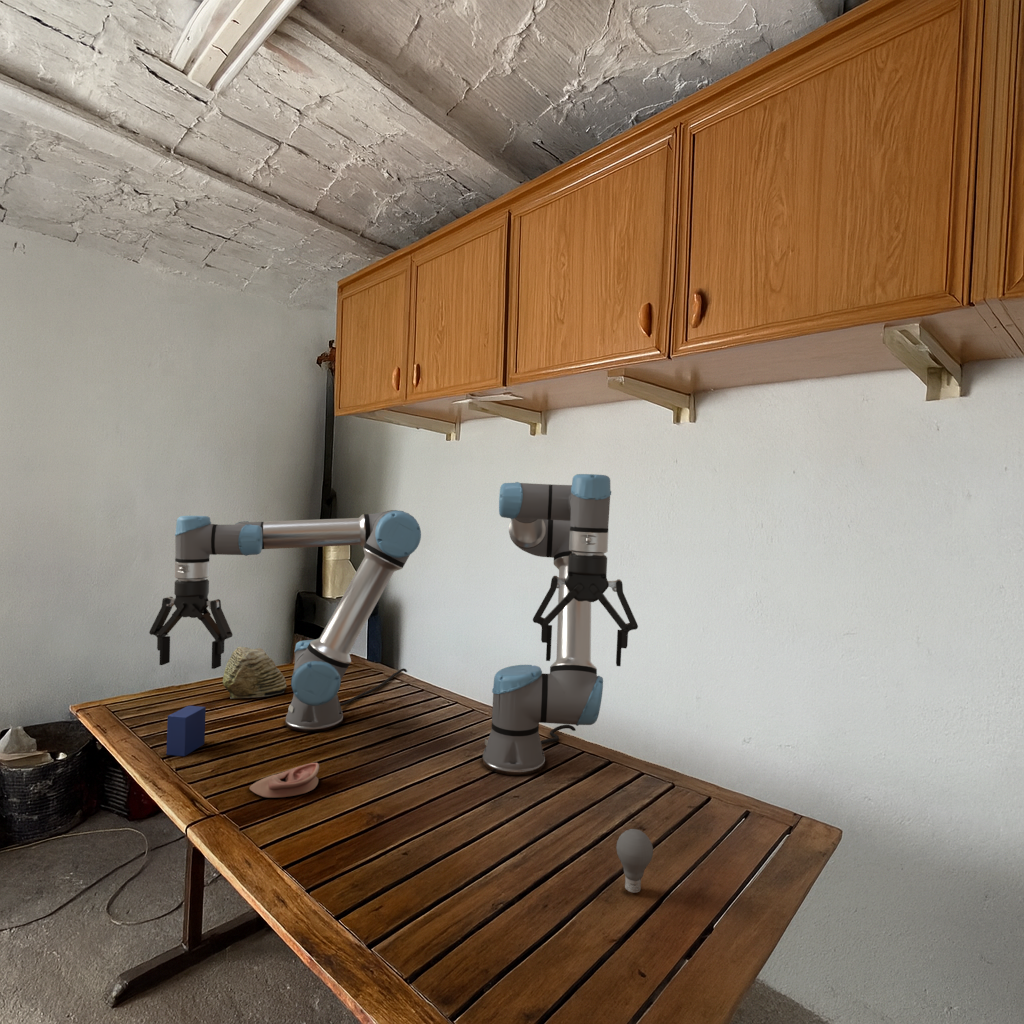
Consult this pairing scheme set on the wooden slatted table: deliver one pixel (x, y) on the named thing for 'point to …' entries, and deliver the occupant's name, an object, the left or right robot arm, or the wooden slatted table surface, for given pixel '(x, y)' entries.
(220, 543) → the left robot arm
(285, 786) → the anatomical model
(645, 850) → the light bulb
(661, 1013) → the wooden slatted table surface
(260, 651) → the fossil
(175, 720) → the brick
